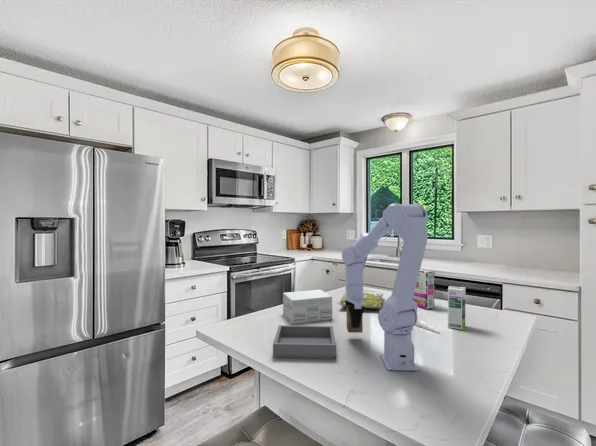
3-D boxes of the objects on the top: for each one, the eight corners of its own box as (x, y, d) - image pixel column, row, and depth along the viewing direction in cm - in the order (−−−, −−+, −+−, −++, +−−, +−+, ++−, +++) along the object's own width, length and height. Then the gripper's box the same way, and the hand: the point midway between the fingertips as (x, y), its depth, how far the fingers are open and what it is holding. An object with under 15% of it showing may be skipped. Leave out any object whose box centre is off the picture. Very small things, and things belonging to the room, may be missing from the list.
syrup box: (447, 328, 119) (447, 288, 118) (448, 323, 124) (448, 285, 124) (465, 330, 116) (465, 289, 116) (465, 325, 121) (465, 286, 121)
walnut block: (362, 332, 105) (362, 310, 105) (348, 332, 106) (348, 310, 105) (360, 327, 110) (359, 307, 110) (346, 327, 110) (346, 307, 110)
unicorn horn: (432, 336, 112) (432, 322, 111) (386, 316, 133) (386, 304, 133) (442, 334, 113) (442, 320, 113) (396, 315, 135) (396, 303, 135)
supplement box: (320, 310, 141) (320, 288, 141) (332, 319, 129) (332, 296, 129) (282, 314, 136) (282, 291, 136) (291, 324, 124) (291, 299, 123)
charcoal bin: (336, 359, 93) (336, 345, 93) (273, 357, 94) (273, 344, 94) (332, 338, 109) (332, 326, 109) (278, 337, 110) (278, 325, 110)
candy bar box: (435, 308, 143) (435, 271, 143) (426, 310, 141) (426, 272, 141) (415, 302, 153) (416, 267, 153) (407, 303, 151) (408, 268, 151)
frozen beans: (337, 297, 140) (341, 284, 165) (336, 310, 140) (341, 296, 165) (387, 301, 136) (384, 287, 160) (387, 315, 136) (383, 299, 161)
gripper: (371, 288, 100) (371, 332, 100) (362, 279, 115) (362, 317, 115) (348, 288, 100) (348, 332, 100) (342, 279, 115) (342, 317, 115)
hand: (354, 324), depth 108 cm, fingers closed on walnut block, 4 cm apart
